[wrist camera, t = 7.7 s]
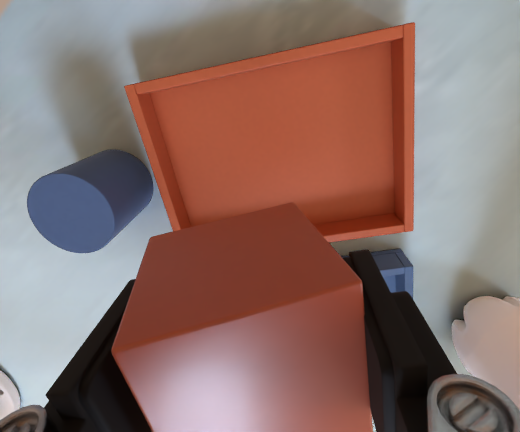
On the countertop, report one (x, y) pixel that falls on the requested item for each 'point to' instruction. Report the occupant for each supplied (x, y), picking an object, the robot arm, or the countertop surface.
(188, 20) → the countertop surface
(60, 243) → the blue cylinder
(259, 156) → the terracotta tray
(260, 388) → the block
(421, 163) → the countertop surface
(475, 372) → the water bottle
